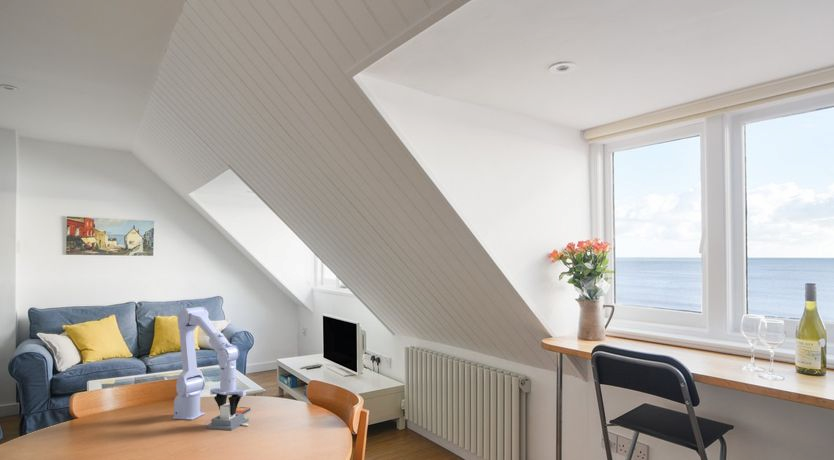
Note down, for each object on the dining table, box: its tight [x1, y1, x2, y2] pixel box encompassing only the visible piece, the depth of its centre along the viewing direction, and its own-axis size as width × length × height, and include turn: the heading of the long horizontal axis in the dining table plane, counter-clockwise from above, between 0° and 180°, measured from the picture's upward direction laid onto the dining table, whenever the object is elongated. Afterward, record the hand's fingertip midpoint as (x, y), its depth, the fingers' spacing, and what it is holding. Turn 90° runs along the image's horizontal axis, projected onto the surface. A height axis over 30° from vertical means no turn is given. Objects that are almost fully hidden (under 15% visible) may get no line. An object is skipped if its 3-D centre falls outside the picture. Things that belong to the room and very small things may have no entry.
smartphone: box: [236, 406, 251, 415], centre depth 202 cm, size 7×15×1 cm, turn 169°
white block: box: [219, 402, 235, 419], centre depth 190 cm, size 4×4×5 cm
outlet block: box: [205, 413, 250, 431], centre depth 190 cm, size 14×11×3 cm
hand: (227, 414), depth 190 cm, fingers closed on white block, 4 cm apart
